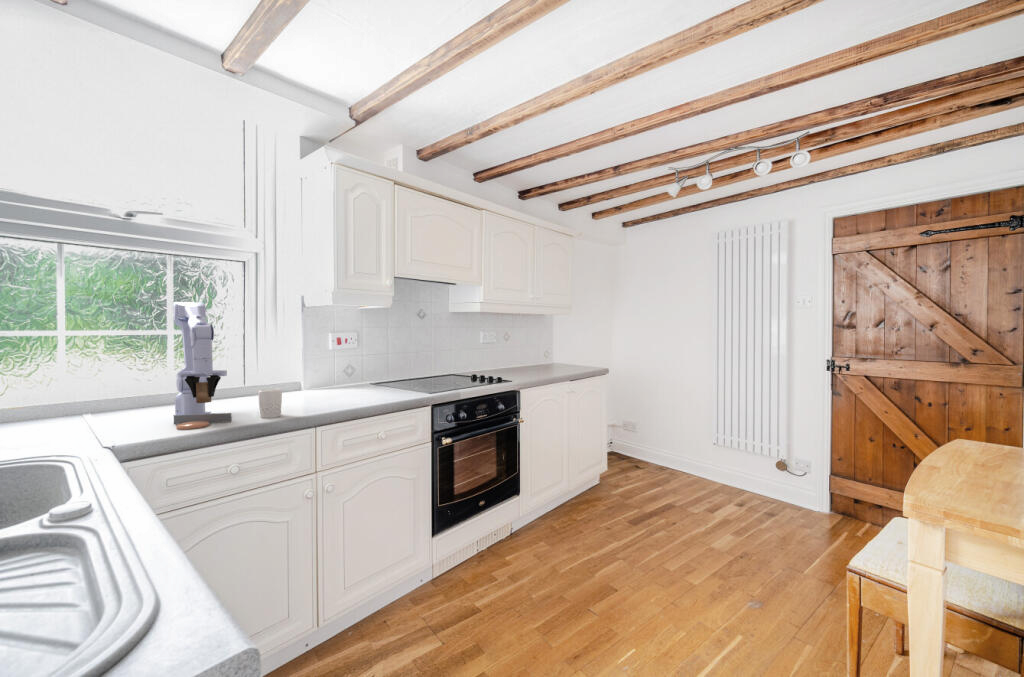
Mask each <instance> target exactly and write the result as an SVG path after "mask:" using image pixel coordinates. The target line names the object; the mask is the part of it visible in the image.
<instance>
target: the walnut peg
mask: <svg viewBox="0 0 1024 677" xmlns="http://www.w3.org/2000/svg"><path fill="white" fill-rule="evenodd" d="M211 402H212V397H209V387H208V382H198V383H196V403H205V404H206V403H211Z"/></svg>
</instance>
